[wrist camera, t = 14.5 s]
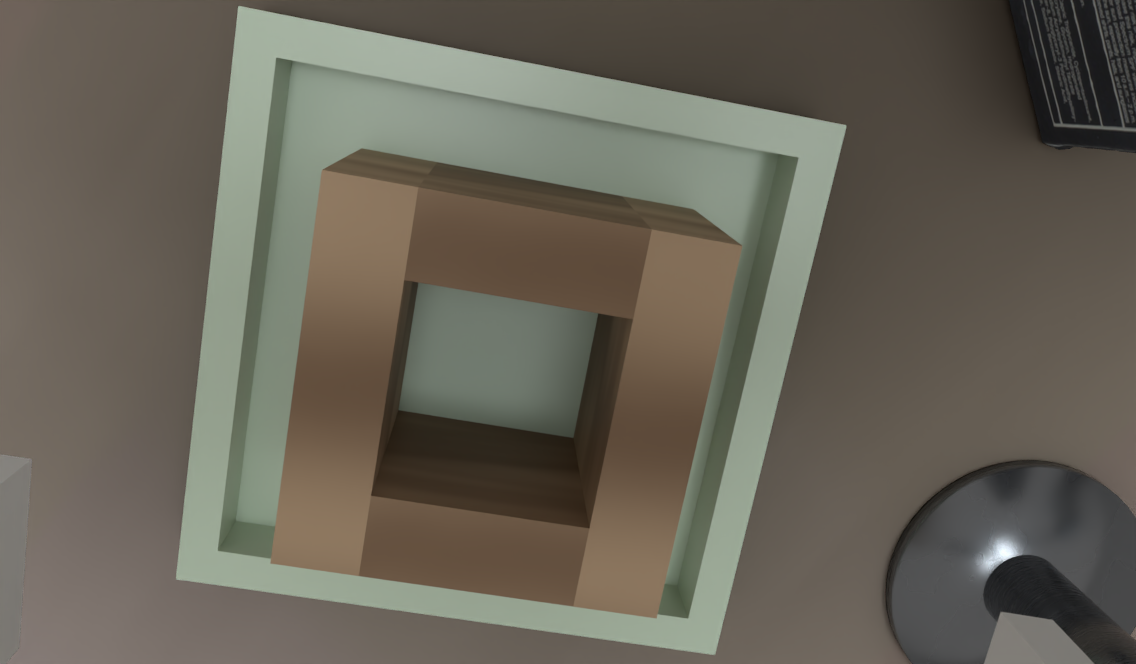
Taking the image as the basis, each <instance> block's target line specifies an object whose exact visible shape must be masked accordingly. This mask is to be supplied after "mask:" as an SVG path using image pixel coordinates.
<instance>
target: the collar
mask: <svg viewBox="0 0 1136 664" xmlns="http://www.w3.org/2000/svg"><path fill="white" fill-rule="evenodd" d="M741 250H742V245H741V244H739V243H738V242H737V241H735V240H734V239H733V238H731V237H730V236H729V235H727V234H726V233H725V232H723V231H722V230H721V229H719V228H718V227H717V226H715V225H714V224H713V223H711V222H710V221H709V220H707V219H706V218H705V217H703V216H702V215H701V214H699V213H698V212H697V211H695V210H694V209H690V208H684V207H679V206H674V205H668V204H663V203H657V202H652V201H646V200H641V199H635V198H630V197H625V196H619V195H614V194H608V193H603V192H597V191H592V190H586V189H581V188H576V187H570V186H565V185H559V184H554V183H548V182H543V181H537V180H532V179H527V178H521V177H516V176H510V175H505V174H499V173H494V172H488V171H483V170H478V169H472V168H467V167H461V166H456V165H450V164H445V163H439V162H434V161H429V160H423V159H418V158H412V157H407V156H401V155H396V154H390V153H385V152H380V151H374V150H369V149H363V148H361V149H359V150H357V151H356V152H354V153H352V154H350V155H348V156H346V157H345V158H343V159H341V160H339V161H337V162H335V163H333V164H332V165H330V166H328V167H326V168H324V169H322V172H321V180H320V188H319V195H318V203H317V210H316V218H315V226H314V233H313V241H312V249H311V256H310V264H309V272H308V279H307V287H306V294H305V302H304V310H303V317H302V325H301V333H300V340H299V348H298V356H297V363H296V371H295V379H294V386H293V394H292V401H291V409H290V417H289V424H288V432H287V440H286V447H285V455H284V463H283V470H282V478H281V486H280V493H279V501H278V508H277V516H276V524H275V531H274V539H273V547H272V554H271V562H270V564H277V565H284V566H291V567H298V568H305V569H312V570H319V571H326V572H333V573H340V574H347V575H354V576H361V577H368V578H375V579H382V580H389V581H396V582H403V583H410V584H417V585H424V586H432V587H439V588H446V589H453V590H460V591H467V592H474V593H481V594H488V595H495V596H502V597H509V598H516V599H523V600H530V601H537V602H544V603H551V604H558V605H565V606H572V607H579V608H586V609H593V610H600V611H607V612H614V613H621V614H628V615H635V616H642V617H649V618H656V619H657V615H658V610H659V606H660V601H661V597H662V593H663V588H664V584H665V580H666V575H667V571H668V567H669V562H670V558H671V554H672V549H673V545H674V541H675V536H676V532H677V528H678V523H679V519H680V515H681V510H682V506H683V502H684V497H685V493H686V489H687V484H688V480H689V476H690V471H691V467H692V463H693V458H694V454H695V450H696V445H697V441H698V437H699V432H700V428H701V424H702V419H703V415H704V411H705V406H706V402H707V398H708V393H709V389H710V385H711V380H712V376H713V372H714V367H715V363H716V359H717V354H718V350H719V346H720V341H721V337H722V333H723V328H724V324H725V320H726V315H727V311H728V306H729V302H730V298H731V293H732V289H733V285H734V280H735V276H736V272H737V267H738V263H739V259H740V254H741ZM418 283H424V284H430V285H436V286H442V287H447V288H453V289H459V290H465V291H471V292H477V293H482V294H488V295H494V296H500V297H506V298H511V299H517V300H523V301H529V302H535V303H541V304H546V305H552V306H558V307H564V308H570V309H576V310H581V311H587V312H593V313H598V317H597V322H596V327H595V332H594V337H593V342H592V347H591V352H590V357H589V362H588V367H587V372H586V377H585V382H584V387H583V392H582V397H581V402H580V407H579V412H578V417H577V422H576V427H575V432H574V437H573V438H571V437H564V436H558V435H552V434H546V433H539V432H533V431H527V430H520V429H514V428H508V427H501V426H495V425H489V424H483V423H476V422H470V421H464V420H457V419H451V418H445V417H439V416H432V415H426V414H420V413H413V412H407V411H401V410H399V403H400V397H401V391H402V384H403V378H404V372H405V365H406V359H407V352H408V346H409V340H410V333H411V327H412V321H413V314H414V308H415V301H416V295H417V289H418Z"/></svg>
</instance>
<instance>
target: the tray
mask: <svg viewBox="0 0 1136 664" xmlns="http://www.w3.org/2000/svg"><path fill="white" fill-rule="evenodd" d="M846 126H847V125H842V124H837V123H832V122H827V121H822V120H817V119H812V118H807V117H802V116H797V115H791V114H786V113H781V112H776V111H771V110H766V109H761V108H756V107H751V106H746V105H741V104H735V103H730V102H725V101H720V100H715V99H710V98H705V97H700V96H695V95H690V94H684V93H679V92H674V91H669V90H664V89H659V88H654V87H649V86H644V85H639V84H634V83H628V82H623V81H618V80H613V79H608V78H603V77H598V76H593V75H588V74H583V73H577V72H572V71H567V70H562V69H557V68H552V67H547V66H542V65H537V64H532V63H527V62H521V61H516V60H511V59H506V58H501V57H496V56H491V55H486V54H481V53H476V52H470V51H465V50H460V49H455V48H450V47H445V46H440V45H435V44H430V43H425V42H419V41H414V40H409V39H404V38H399V37H394V36H389V35H384V34H379V33H374V32H369V31H363V30H358V29H353V28H348V27H343V26H338V25H333V24H328V23H323V22H318V21H312V20H307V19H302V18H297V17H292V16H287V15H282V14H277V13H272V12H267V11H262V10H256V9H251V8H246V7H241V6H238V14H237V24H236V33H235V42H234V51H233V60H232V69H231V79H230V88H229V97H228V106H227V115H226V124H225V134H224V143H223V152H222V161H221V170H220V179H219V189H218V198H217V207H216V216H215V225H214V234H213V244H212V253H211V262H210V271H209V280H208V290H207V299H206V308H205V317H204V326H203V335H202V345H201V354H200V363H199V372H198V381H197V390H196V400H195V409H194V418H193V427H192V436H191V445H190V455H189V464H188V473H187V482H186V491H185V500H184V510H183V519H182V528H181V537H180V546H179V556H178V565H177V574H176V579H178V580H185V581H192V582H199V583H206V584H213V585H220V586H227V587H235V588H242V589H249V590H256V591H263V592H270V593H277V594H284V595H291V596H299V597H306V598H313V599H320V600H327V601H334V602H341V603H348V604H356V605H363V606H370V607H377V608H384V609H391V610H398V611H405V612H412V613H420V614H427V615H434V616H441V617H448V618H455V619H462V620H469V621H476V622H484V623H491V624H498V625H505V626H512V627H519V628H526V629H533V630H541V631H548V632H555V633H562V634H569V635H576V636H583V637H590V638H597V639H605V640H612V641H619V642H626V643H633V644H640V645H647V646H654V647H661V648H669V649H676V650H683V651H690V652H697V653H704V654H711V655H715V653H716V649H717V645H718V641H719V637H720V633H721V629H722V625H723V621H724V617H725V613H726V609H727V605H728V600H729V596H730V592H731V588H732V584H733V580H734V576H735V572H736V568H737V564H738V560H739V556H740V552H741V548H742V544H743V540H744V536H745V532H746V528H747V524H748V520H749V516H750V512H751V508H752V504H753V500H754V496H755V492H756V488H757V484H758V480H759V476H760V472H761V468H762V464H763V460H764V456H765V452H766V448H767V444H768V440H769V436H770V432H771V428H772V424H773V420H774V416H775V412H776V408H777V404H778V400H779V396H780V392H781V388H782V384H783V380H784V375H785V371H786V367H787V363H788V359H789V355H790V351H791V347H792V343H793V339H794V335H795V331H796V327H797V323H798V319H799V315H800V311H801V307H802V303H803V299H804V295H805V291H806V287H807V283H808V279H809V275H810V271H811V267H812V263H813V259H814V255H815V251H816V247H817V243H818V239H819V235H820V231H821V227H822V223H823V219H824V215H825V211H826V207H827V203H828V199H829V195H830V191H831V187H832V183H833V179H834V175H835V171H836V167H837V163H838V159H839V154H840V150H841V146H842V142H843V138H844V134H845V130H846ZM361 148H363V149H369V150H374V151H380V152H385V153H390V154H396V155H401V156H407V157H412V158H418V159H423V160H429V161H434V162H439V163H445V164H450V165H456V166H461V167H467V168H472V169H478V170H483V171H488V172H494V173H499V174H505V175H510V176H516V177H521V178H527V179H532V180H537V181H543V182H548V183H554V184H559V185H565V186H570V187H576V188H581V189H586V190H592V191H597V192H603V193H608V194H614V195H619V196H625V197H630V198H635V199H641V200H646V201H652V202H657V203H663V204H668V205H674V206H679V207H684V208H690V209H694V210H695V211H697V212H698V213H699V214H701V215H702V216H703V217H705V218H706V219H707V220H709V221H710V222H711V223H713V224H714V225H715V226H717V227H718V228H719V229H721V230H722V231H723V232H725V233H726V234H727V235H729V236H730V237H731V238H733V239H734V240H735V241H737V242H738V243H739V244H741V245H742V250H741V254H740V259H739V263H738V267H737V272H736V276H735V280H734V285H733V289H732V293H731V298H730V302H729V306H728V311H727V315H726V320H725V324H724V328H723V333H722V337H721V341H720V346H719V350H718V354H717V359H716V363H715V367H714V372H713V376H712V380H711V385H710V389H709V393H708V398H707V402H706V406H705V411H704V415H703V419H702V424H701V428H700V432H699V437H698V441H697V445H696V450H695V454H694V458H693V463H692V467H691V471H690V476H689V480H688V484H687V489H686V493H685V497H684V502H683V506H682V510H681V515H680V519H679V523H678V528H677V532H676V536H675V541H674V545H673V549H672V554H671V558H670V562H669V567H668V571H667V575H666V580H665V584H664V588H663V593H662V597H661V601H660V606H659V610H658V615H657V619H656V618H649V617H642V616H635V615H628V614H621V613H614V612H607V611H600V610H593V609H586V608H579V607H572V606H565V605H558V604H551V603H544V602H537V601H530V600H523V599H516V598H509V597H502V596H495V595H488V594H481V593H474V592H467V591H460V590H453V589H446V588H439V587H432V586H424V585H417V584H410V583H403V582H396V581H389V580H382V579H375V578H368V577H361V576H354V575H347V574H340V573H333V572H326V571H319V570H312V569H305V568H298V567H291V566H284V565H277V564H270V562H271V554H272V547H273V539H274V531H275V524H276V516H277V508H278V501H279V493H280V486H281V478H282V470H283V463H284V455H285V447H286V440H287V432H288V424H289V417H290V409H291V401H292V394H293V386H294V379H295V371H296V363H297V356H298V348H299V340H300V333H301V325H302V317H303V310H304V302H305V294H306V287H307V279H308V272H309V264H310V256H311V249H312V241H313V233H314V226H315V218H316V210H317V203H318V195H319V188H320V180H321V172H322V169H324V168H326V167H328V166H330V165H332V164H333V163H335V162H337V161H339V160H341V159H343V158H345V157H346V156H348V155H350V154H352V153H354V152H356V151H357V150H359V149H361ZM597 317H598V313H593V312H587V311H581V310H576V309H570V308H564V307H558V306H552V305H546V304H541V303H535V302H529V301H523V300H517V299H511V298H506V297H500V296H494V295H488V294H482V293H477V292H471V291H465V290H459V289H453V288H447V287H442V286H436V285H430V284H424V283H418V289H417V295H416V301H415V308H414V314H413V321H412V327H411V333H410V340H409V346H408V352H407V359H406V365H405V372H404V378H403V384H402V391H401V397H400V403H399V410H401V411H407V412H413V413H420V414H426V415H432V416H439V417H445V418H451V419H457V420H464V421H470V422H476V423H483V424H489V425H495V426H501V427H508V428H514V429H520V430H527V431H533V432H539V433H546V434H552V435H558V436H564V437H571V438H573V437H574V432H575V427H576V422H577V417H578V412H579V407H580V402H581V397H582V392H583V387H584V382H585V377H586V372H587V367H588V362H589V357H590V352H591V347H592V342H593V337H594V332H595V327H596V322H597Z"/></svg>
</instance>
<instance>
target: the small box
mask: <svg viewBox="0 0 1136 664" xmlns="http://www.w3.org/2000/svg"><path fill="white" fill-rule="evenodd" d="M1009 3H1010V7H1011V12H1012V16H1013V20H1014V24H1015V29H1016V33H1017V37H1018V41H1019V45H1020V50H1021V54H1022V58H1023V64H1024V67H1025V71H1026V75H1027V80H1028V84H1029V88H1030V92H1031V96H1032V100H1033V103H1034V108H1035V112H1036V116H1037V120H1038V124H1039V128H1040V133H1041V139H1042V142H1043V143H1045V144H1047V145H1049V146H1052V147H1055V148H1056V149H1059V150H1060V149H1070V148H1072V147H1084V148H1095V149H1104V150H1117V151H1121V152H1131V153H1136V0H1009Z"/></svg>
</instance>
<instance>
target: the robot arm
mask: <svg viewBox="0 0 1136 664" xmlns="http://www.w3.org/2000/svg"><path fill="white" fill-rule="evenodd" d="M31 468H32V459H28V458H22V457H16V456H9V455H3V454H0V664H6V663H7V662H8V660H9V659H10V658H11V657H12V656H13V655H14V654H15V652H16V651H17V650H18V649H19V645H20V630H21V616H22V601H23V586H24V571H25V557H26V542H27V527H28V512H29V498H30V483H31ZM984 664H1094V663H1093V662H1092V661H1091V660H1090V659H1089V658H1088V656H1087V655H1086V654H1085V653H1084V652H1083V651H1082V650H1081V649H1080V648H1079V647H1078V646H1077V645H1076V644H1075V643H1074V642H1073V641H1072V640H1071V639H1070V637H1069V636H1068V635H1067V634H1066V633H1065V632H1064V631H1063V630H1062V629H1061V628H1060V627H1059V626H1058V625H1057V624H1056V623H1055V622H1054V621H1053V620H1051V619H1044V618H1038V617H1032V616H1025V615H1019V614H1012V613H1006V612H1000V616H999V619H998V622H997V625H996V628H995V631H994V634H993V637H992V640H991V643H990V647H989V650H988V653H987V656H986V659H985V662H984Z"/></svg>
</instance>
